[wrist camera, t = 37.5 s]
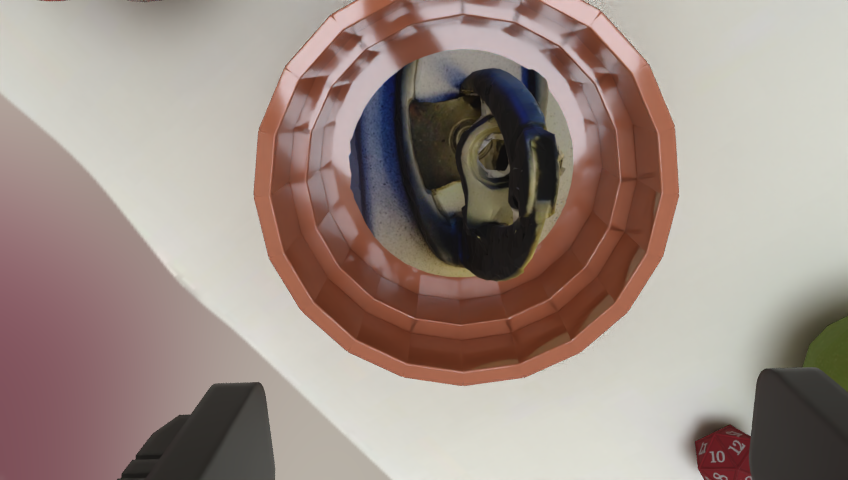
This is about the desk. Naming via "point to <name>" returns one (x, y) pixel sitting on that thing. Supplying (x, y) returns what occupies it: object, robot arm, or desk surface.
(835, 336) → the apple
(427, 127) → the blue cream rounded piece
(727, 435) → the dice
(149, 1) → the mug
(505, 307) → the bowl
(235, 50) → the desk surface
